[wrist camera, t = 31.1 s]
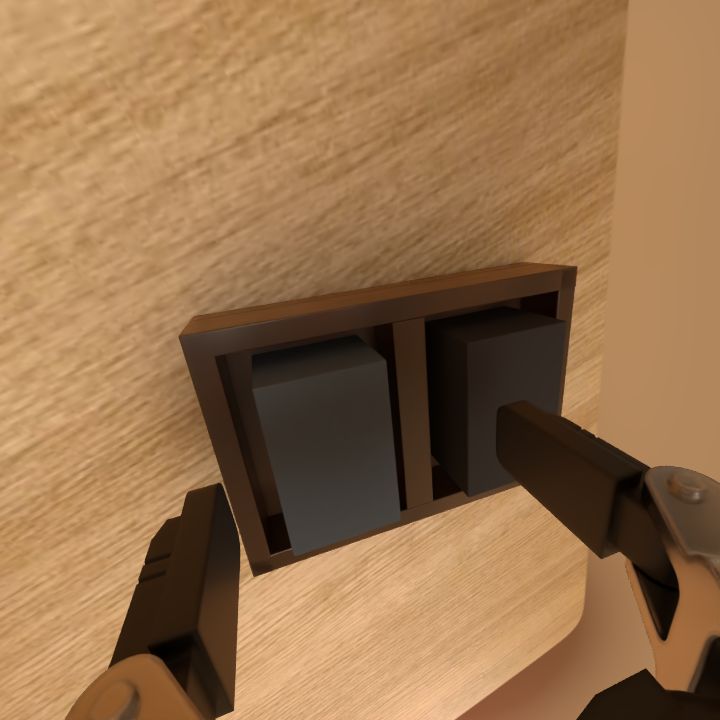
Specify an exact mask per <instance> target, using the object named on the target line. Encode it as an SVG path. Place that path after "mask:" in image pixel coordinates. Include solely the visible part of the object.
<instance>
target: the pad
mask: <svg viewBox="0 0 720 720" xmlns="http://www.w3.org/2000/svg"><path fill="white" fill-rule="evenodd" d="M252 391H253V395H254V399H255V403H256V407H257V411H258V415H259V419H260V423H261V427H262V431H263V435H264V439H265V443H266V447H267V451H268V455H269V459H270V463H271V467H272V471H273V475H274V479H275V483H276V487H277V491H278V495H279V499H280V503H281V507H282V511H283V515H284V519H285V523H286V527H287V531H288V535H289V539H290V543H291V547H292V551H293V555H294V556H297V555H300V554H303V553H306V552H309V551H312V550H315V549H318V548H321V547H324V546H327V545H330V544H333V543H336V542H338V541H341V540H344V539H347V538H350V537H353V536H356V535H359V534H362V533H365V532H368V531H371V530H374V529H377V528H379V527H382V526H385V525H388V524H391V523H394V522H397V521H400V520H401V513H400V502H399V492H398V481H397V471H396V460H395V449H394V439H393V428H392V418H391V407H390V396H389V386H388V375H387V365H386V360H385V359H384V358H383V357H382V356H381V355H379V354H378V353H377V352H376V351H375V350H374V349H373V348H371V347H370V346H369V345H368V344H367V343H366V342H364V341H363V340H362V339H361V338H360V337H359V336H358V335H352V336H347V337H342V338H337V339H332V340H327V341H322V342H317V343H312V344H307V345H302V346H297V347H292V348H287V349H282V350H277V351H272V352H267V353H262V354H257V355H252Z"/></svg>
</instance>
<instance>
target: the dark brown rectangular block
mask: <svg viewBox="0 0 720 720" xmlns="http://www.w3.org/2000/svg"><path fill="white" fill-rule="evenodd" d="M566 324H567V322H566V321H564V320H560V319H556V318H552V317H548V316H544V315H540V314H536V313H532V312H528V311H524V310H520V309H516V308H512V307H508V306H503V307H498V308H493V309H488V310H483V311H478V312H473V313H468V314H463V315H458V316H453V317H448V318H443V319H438V320H433V321H428V322H425V341H426V362H427V383H428V404H429V425H430V446H431V455H432V456H433V457H434V458H435V459H436V461H437V462H438V463H439V464H440V465H441V466H442V468H443V469H444V470H445V471H446V472H447V473H448V475H449V476H450V477H451V478H452V479H453V480H454V482H455V483H456V484H457V485H458V486H459V487H460V489H461V490H462V491H463V492H464V493H465V494H466V496H467V497H472V496H475V495H478V494H481V493H484V492H487V491H490V490H493V489H496V488H499V487H502V486H504V485H507V484H510V483H513V482H516V480H515V479H514V478H513V477H512V476H511V475H510V474H509V473H508V472H506V471H505V470H504V468H503V467H502V466H501V464H500V462H499V460H498V458H497V455H496V416H497V410H498V408H499V407H500V406H503V405H507V404H510V403H514V402H518V401H521V400H526V401H528V402H530V403H532V404H533V405H535V406H537V407H538V408H540V409H542V410H543V411H545V412H548V413H552V414H555V415H557V414H558V404H559V394H560V384H561V374H562V364H563V354H564V344H565V334H566Z"/></svg>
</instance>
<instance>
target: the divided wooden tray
mask: <svg viewBox="0 0 720 720" xmlns="http://www.w3.org/2000/svg"><path fill="white" fill-rule="evenodd" d="M576 276H577V266H567V265H553V264H540V263H527V262H523V263H517V264H511V265H505V266H499V267H493V268H487V269H480V270H474V271H468V272H462V273H456V274H450V275H444V276H438V277H432V278H426V279H420V280H414V281H408V282H401V283H395V284H389V285H383V286H377V287H371V288H365V289H359V290H353V291H347V292H341V293H335V294H329V295H322V296H316V297H310V298H304V299H298V300H292V301H286V302H280V303H274V304H268V305H262V306H256V307H250V308H244V309H237V310H231V311H225V312H219V313H213V314H207V315H201V316H195V317H193V318H192V319H191V321H190V322H189V323H188V325H187V326H186V327H185V329H184V330H183V331H182V333H181V334H180V335H179V340H180V343H181V346H182V349H183V353H184V356H185V359H186V362H187V365H188V369H189V372H190V375H191V378H192V381H193V385H194V388H195V391H196V394H197V397H198V401H199V404H200V407H201V410H202V413H203V417H204V420H205V423H206V426H207V429H208V433H209V436H210V439H211V442H212V445H213V449H214V452H215V455H216V458H217V461H218V465H219V468H220V471H221V474H222V477H223V481H224V484H225V487H226V490H227V493H228V497H229V500H230V503H231V506H232V509H233V513H234V516H235V519H236V522H237V525H238V529H239V532H240V535H241V538H242V541H243V545H244V548H245V551H246V554H247V557H248V561H249V564H250V567H251V570H252V573H253V576H254V577H256V576H259V575H262V574H265V573H267V572H270V571H273V570H275V569H278V568H281V567H284V566H287V565H290V564H293V563H296V562H299V561H302V560H305V559H307V558H310V557H313V556H316V555H319V554H322V553H325V552H328V551H331V550H334V549H337V548H339V547H342V546H345V545H348V544H351V543H354V542H357V541H360V540H363V539H366V538H368V537H371V536H374V535H377V534H380V533H383V532H386V531H389V530H392V529H395V528H398V527H400V526H403V525H406V524H409V523H412V522H415V521H418V520H421V519H424V518H427V517H430V516H432V515H435V514H438V513H441V512H444V511H447V510H450V509H453V508H456V507H459V506H462V505H464V504H467V503H470V502H473V501H476V500H479V499H482V498H485V497H488V496H491V495H493V494H496V493H499V492H502V491H505V490H508V489H511V488H514V487H517V486H520V485H521V484H519V483H518V482H517V481H516V482H513V483H510V484H507V485H504V486H502V487H499V488H496V489H493V490H490V491H487V492H484V493H481V494H478V495H475V496H472V497H467V496H466V494H465V493H464V492H463V491H462V490H461V489H460V487H459V486H458V485H457V484H456V483H455V482H454V480H453V479H452V478H451V477H450V476H449V475H448V473H447V472H446V471H445V470H444V469H443V468H442V466H441V465H440V464H439V463H438V462H437V461H436V459H435V458H434V457H433V456H432V455H431V446H430V425H429V404H428V383H427V362H426V341H425V322H428V321H433V320H438V319H443V318H448V317H453V316H458V315H463V314H468V313H473V312H478V311H483V310H488V309H493V308H498V307H503V306H508V307H512V308H516V309H520V310H524V311H528V312H532V313H536V314H540V315H544V316H548V317H552V318H556V319H560V320H564V321H566V322H567V324H566V334H565V344H564V354H563V364H562V374H561V384H560V394H559V404H558V414H557V415H558V416H561V412H562V403H563V394H564V384H565V375H566V366H567V357H568V347H569V338H570V329H571V319H572V310H573V301H574V291H575V286H576ZM352 335H358V336H359V337H360V338H361V339H362V340H363V341H364V342H366V343H367V344H368V345H369V346H370V347H371V348H373V349H374V350H375V351H376V352H377V353H378V354H379V355H381V356H382V357H383V358H384V359H385V360H386V365H387V375H388V386H389V396H390V407H391V418H392V428H393V439H394V449H395V460H396V471H397V481H398V492H399V502H400V513H401V520H400V521H397V522H394V523H391V524H388V525H385V526H382V527H379V528H377V529H374V530H371V531H368V532H365V533H362V534H359V535H356V536H353V537H350V538H347V539H344V540H341V541H338V542H336V543H333V544H330V545H327V546H324V547H321V548H318V549H315V550H312V551H309V552H306V553H303V554H300V555H297V556H294V555H293V551H292V547H291V543H290V539H289V535H288V531H287V527H286V523H285V519H284V515H283V511H282V507H281V503H280V499H279V495H278V491H277V487H276V483H275V479H274V475H273V471H272V467H271V463H270V459H269V455H268V451H267V447H266V443H265V439H264V435H263V431H262V427H261V423H260V419H259V415H258V411H257V407H256V403H255V399H254V395H253V391H252V355H257V354H262V353H267V352H272V351H277V350H282V349H287V348H292V347H297V346H302V345H307V344H312V343H317V342H322V341H327V340H332V339H337V338H342V337H347V336H352Z"/></svg>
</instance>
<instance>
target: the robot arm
mask: <svg viewBox="0 0 720 720" xmlns="http://www.w3.org/2000/svg"><path fill="white" fill-rule="evenodd" d="M496 455H497V458H498V460H499V462H500V464H501V466H502V467H503V468H504V470H505V471H506V472H508V473H509V474H510V475H511V476H512V477H513V478H514V479H515V480H516V481H517V482H518V483H519V484H521V485H522V486H523V487H524V488H525V489H526V490H527V491H528V492H529V493H530V494H531V495H532V496H533V497H535V498H536V499H537V500H538V501H539V502H540V503H541V504H542V505H543V506H544V507H545V508H546V509H548V510H549V511H550V512H551V513H552V514H553V515H554V516H555V517H556V518H557V519H558V520H559V521H561V522H562V523H563V524H564V525H565V526H566V527H567V528H568V529H569V530H570V531H571V532H572V533H573V534H575V535H576V536H577V537H578V538H579V539H580V540H581V541H582V542H583V543H584V544H585V545H586V546H588V547H589V548H590V549H591V550H592V551H593V552H594V553H595V554H596V555H597V556H598V557H599V558H601V559H603V558H605V557H608V556H610V555H613V554H615V553H617V552H621V553H622V554H623V555H625V556H626V557H627V558H626V562H625V568H626V572H627V575H628V578H629V581H630V584H631V587H632V590H633V593H634V596H635V599H636V602H637V605H638V608H639V611H640V614H641V617H642V620H643V623H644V626H645V629H646V632H647V635H648V638H649V641H650V644H651V647H652V651H653V655H654V660H655V678H654V677H653V676H652V675H651V673H650V672H649V671H648V670H647V669H644V670H642V671H640V672H638V673H636V674H634V675H632V676H630V677H628V678H626V679H625V680H623V681H621V682H619V683H617V684H615V685H613V686H611V687H609V688H607V689H605V690H604V691H602V692H600V693H598V694H596V695H595V696H594V697H593V699H592V700H591V701H590V702H589V704H588V705H587V706H586V708H585V709H584V710H583V712H582V713H581V714H580V716H579V717H578V718H577V720H720V483H718V482H717V481H715V480H713V479H712V478H710V477H708V476H706V475H703V474H701V473H698V472H696V471H692V470H689V469H685V468H681V467H674V466H658V467H654V468H650V467H649V466H647V465H645V464H643V463H641V462H640V461H638V460H637V459H635V458H633V457H631V456H630V455H628V454H626V453H625V452H623V451H621V450H619V449H618V448H616V447H614V446H612V445H611V444H609V443H607V442H606V441H604V440H602V439H600V438H599V437H598V438H596V437H595V435H593V434H592V433H590V432H588V431H587V430H585V429H583V430H582V429H581V427H580V426H578V425H576V424H575V423H573V422H571V421H569V420H568V419H566V418H564V417H561V416H558V415H555V414H552V413H548V412H545V411H543V410H542V409H540V408H538V407H537V406H535V405H533V404H532V403H530V402H528V401H526V400H521V401H518V402H514V403H510V404H507V405H503V406H500V407H499V408H498V410H497V416H496ZM239 575H240V542H239V535H238V531H237V527H236V524H235V521H234V518H233V515H232V512H231V509H230V506H229V503H228V500H227V497H226V494H225V491H224V488H223V486H222V484H221V483H217V484H214V485H210V486H207V487H203V488H199V489H196V490H192V491H189V492H188V493H187V495H186V498H185V502H184V506H183V510H182V514H181V516H178V517H175V518H171V519H168V520H166V522H165V523H164V524H163V526H162V527H161V528H160V530H159V531H158V532H157V534H156V535H155V536H154V538H153V539H152V540H151V543H150V546H149V549H148V552H147V555H146V558H145V565H144V566H143V567H142V570H141V573H140V576H139V579H138V580H139V584H137V585H136V588H135V591H134V594H133V597H132V600H131V603H130V606H129V609H128V612H127V615H126V618H125V621H124V624H123V627H122V630H121V633H120V636H119V639H118V642H117V645H116V648H115V651H114V654H113V657H112V660H111V662H110V665H109V667H108V669H107V670H106V671H105V672H104V673H102V674H101V675H100V676H99V677H98V678H97V679H95V680H94V681H93V682H92V683H91V684H90V685H89V686H88V688H87V689H86V690H85V691H84V692H83V693H82V694H81V696H80V697H79V698H78V700H77V701H76V702H75V704H74V705H73V706H72V708H71V710H70V711H69V713H68V715H67V716H66V718H65V720H215V718H218V717H220V716H223V715H225V714H227V713H230V712H232V711H234V698H235V673H236V649H237V624H238V599H239Z"/></svg>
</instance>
